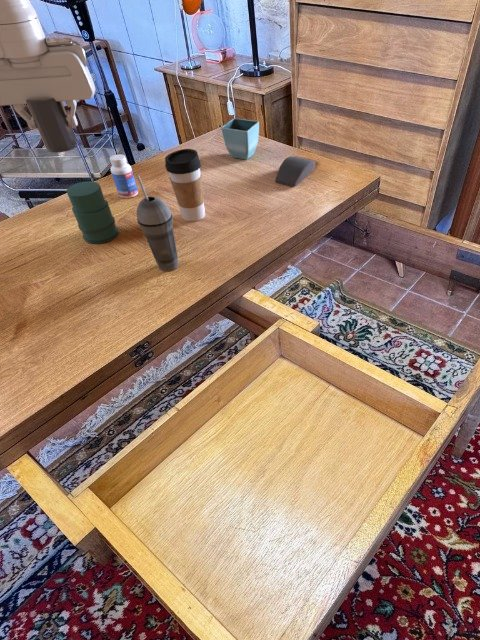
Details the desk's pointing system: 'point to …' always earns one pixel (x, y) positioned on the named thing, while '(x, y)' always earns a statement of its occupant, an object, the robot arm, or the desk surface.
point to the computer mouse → (294, 170)
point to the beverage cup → (158, 230)
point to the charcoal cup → (53, 125)
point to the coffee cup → (187, 182)
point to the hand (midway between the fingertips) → (54, 127)
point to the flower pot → (241, 137)
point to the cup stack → (92, 212)
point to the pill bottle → (123, 176)
